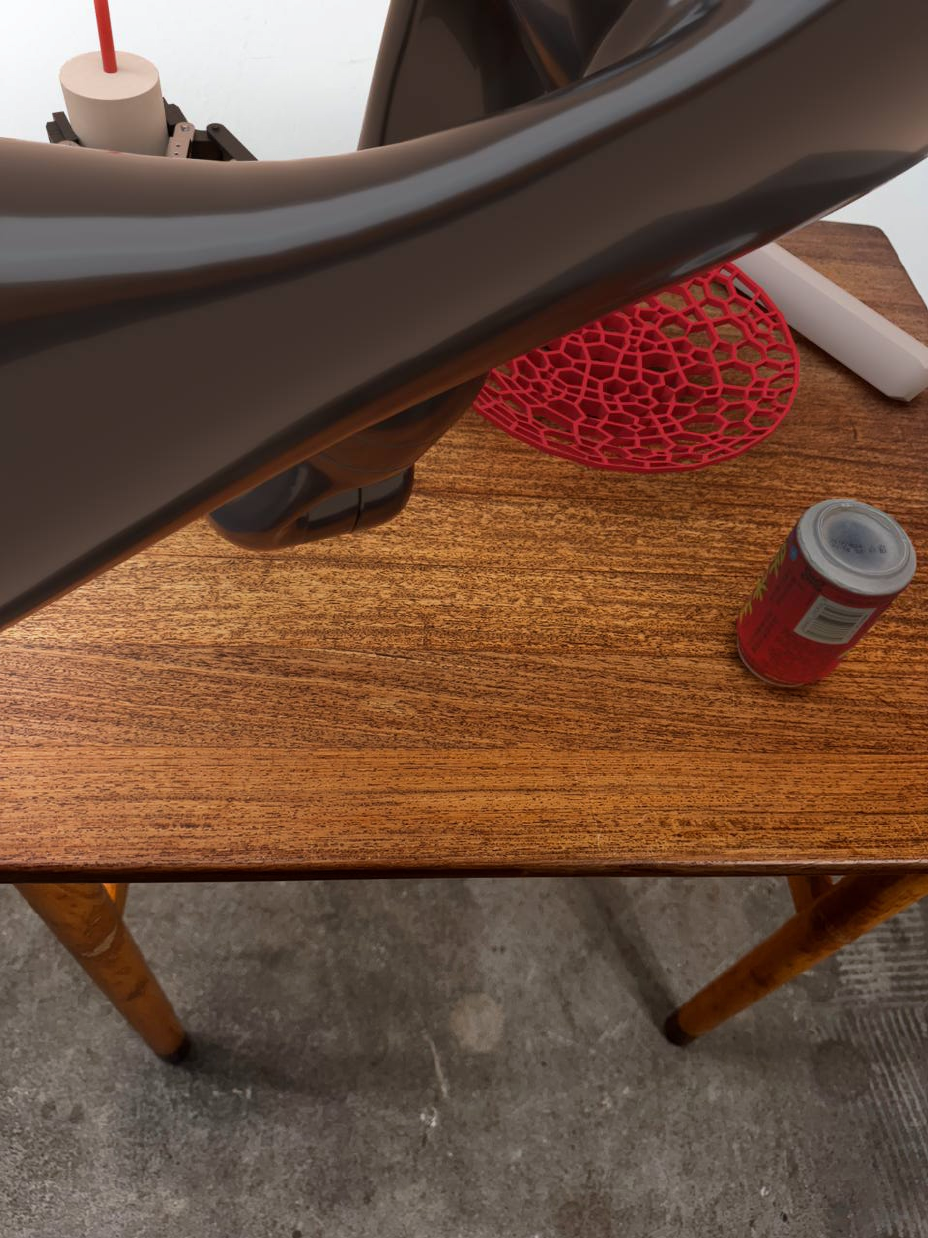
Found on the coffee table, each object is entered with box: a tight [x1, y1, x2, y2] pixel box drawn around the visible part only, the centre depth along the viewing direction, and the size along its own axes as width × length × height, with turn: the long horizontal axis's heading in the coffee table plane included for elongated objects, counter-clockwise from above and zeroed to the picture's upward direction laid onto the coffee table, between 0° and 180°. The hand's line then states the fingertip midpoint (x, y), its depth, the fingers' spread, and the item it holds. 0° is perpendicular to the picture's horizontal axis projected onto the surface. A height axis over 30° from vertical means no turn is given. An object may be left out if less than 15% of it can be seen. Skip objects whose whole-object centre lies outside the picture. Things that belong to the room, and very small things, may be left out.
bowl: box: [470, 262, 801, 475], centre depth 73 cm, size 29×30×5 cm
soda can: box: [736, 498, 918, 688], centre depth 57 cm, size 7×7×12 cm
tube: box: [713, 241, 928, 403], centre depth 80 cm, size 5×5×25 cm
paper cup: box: [58, 0, 169, 156], centre depth 58 cm, size 6×6×16 cm
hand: (111, 118), depth 60 cm, fingers closed on paper cup, 6 cm apart
